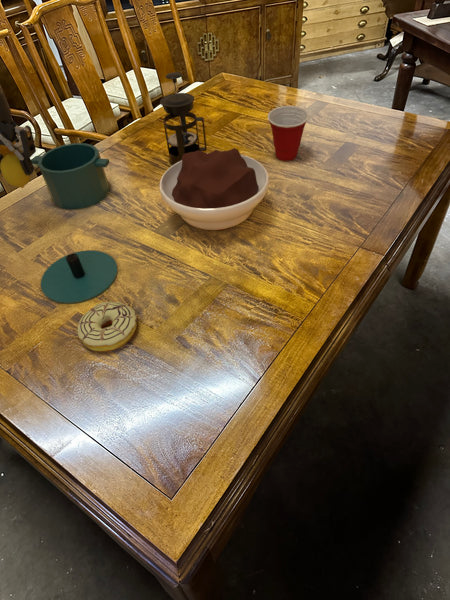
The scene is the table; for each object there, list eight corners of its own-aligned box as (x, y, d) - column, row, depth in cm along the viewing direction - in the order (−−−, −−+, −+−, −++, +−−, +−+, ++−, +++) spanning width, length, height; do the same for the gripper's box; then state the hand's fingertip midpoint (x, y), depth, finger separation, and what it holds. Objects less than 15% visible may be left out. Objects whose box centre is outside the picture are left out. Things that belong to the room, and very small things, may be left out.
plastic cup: (264, 165, 115) (265, 122, 107) (269, 147, 123) (269, 105, 114) (304, 167, 114) (308, 123, 105) (306, 148, 121) (310, 105, 112)
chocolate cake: (227, 260, 89) (222, 200, 78) (144, 223, 100) (129, 165, 89) (288, 204, 102) (291, 145, 91) (209, 176, 113) (203, 120, 102)
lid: (101, 309, 82) (92, 288, 77) (28, 301, 84) (16, 280, 80) (128, 257, 92) (122, 235, 88) (63, 251, 95) (54, 230, 91)
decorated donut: (140, 308, 81) (136, 294, 78) (137, 352, 74) (132, 339, 71) (87, 313, 81) (81, 300, 78) (78, 358, 74) (71, 345, 71)
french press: (164, 169, 118) (149, 82, 101) (169, 152, 124) (155, 68, 107) (206, 167, 117) (197, 79, 100) (208, 151, 123) (200, 66, 106)
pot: (106, 212, 105) (94, 174, 97) (34, 207, 108) (16, 170, 100) (126, 180, 114) (117, 144, 107) (59, 177, 118) (46, 141, 110)
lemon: (10, 184, 96) (-6, 151, 90) (34, 179, 97) (20, 146, 91) (10, 196, 92) (-7, 163, 86) (36, 190, 93) (21, 157, 88)
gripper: (25, 86, 81) (55, 166, 94) (-39, 84, 84) (-2, 162, 96) (4, 102, 76) (38, 184, 89) (-64, 99, 79) (-22, 179, 91)
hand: (17, 172), depth 92 cm, fingers closed on lemon, 5 cm apart
